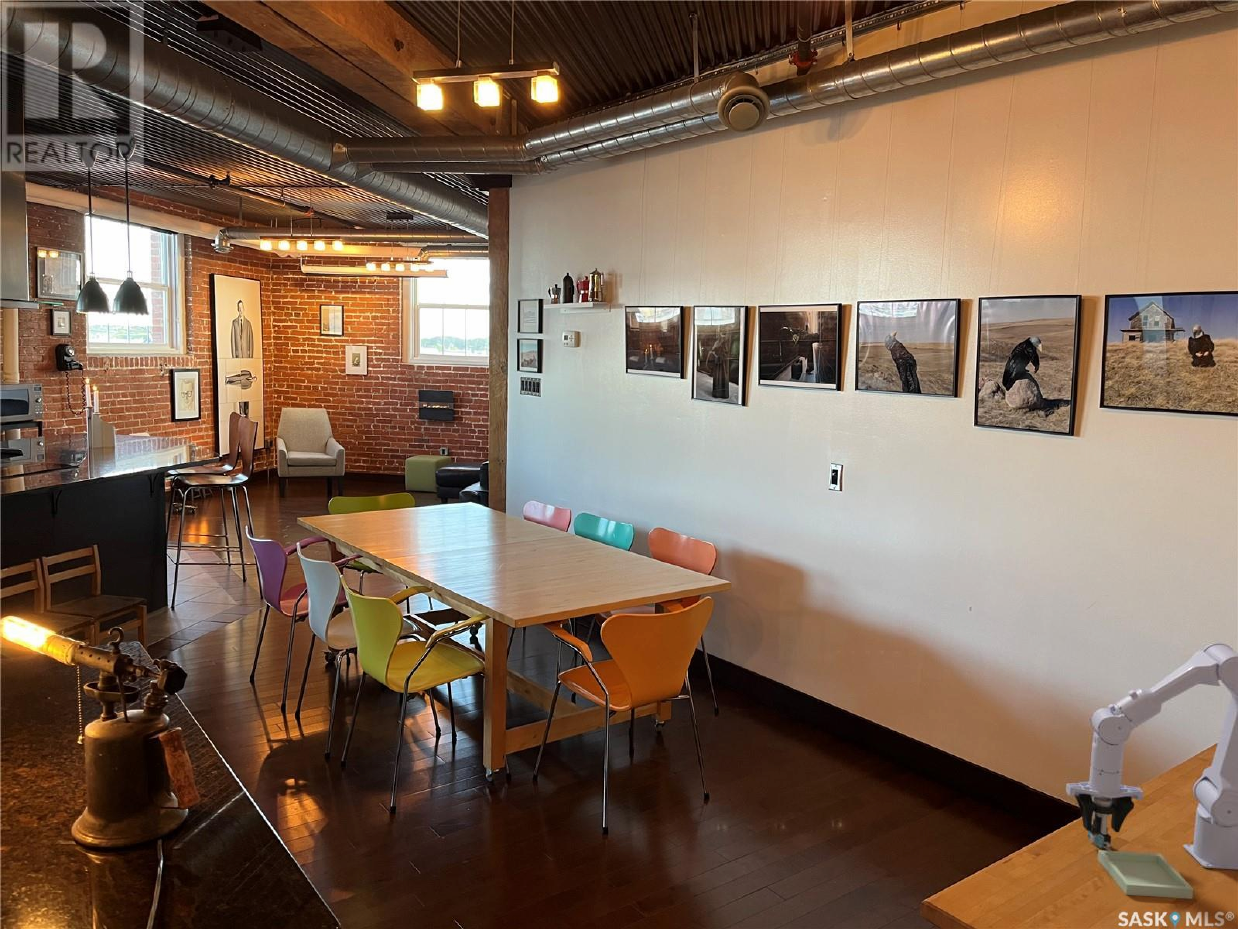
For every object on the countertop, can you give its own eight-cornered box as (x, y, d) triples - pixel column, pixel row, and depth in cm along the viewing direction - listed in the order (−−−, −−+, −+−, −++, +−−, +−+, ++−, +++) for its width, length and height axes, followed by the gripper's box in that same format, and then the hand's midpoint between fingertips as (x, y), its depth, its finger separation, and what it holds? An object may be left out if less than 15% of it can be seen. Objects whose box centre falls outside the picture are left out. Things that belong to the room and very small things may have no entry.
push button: (1121, 853, 183) (1126, 807, 182) (1097, 853, 182) (1101, 807, 181) (1102, 836, 189) (1106, 791, 188) (1078, 836, 189) (1082, 791, 188)
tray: (1159, 863, 179) (1160, 854, 179) (1192, 899, 167) (1193, 889, 167) (1097, 859, 180) (1098, 850, 180) (1125, 894, 168) (1126, 884, 168)
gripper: (1133, 760, 187) (1127, 821, 189) (1062, 757, 189) (1057, 817, 190) (1150, 776, 180) (1144, 839, 182) (1076, 772, 182) (1071, 834, 183)
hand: (1101, 829), depth 186 cm, fingers closed on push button, 5 cm apart
